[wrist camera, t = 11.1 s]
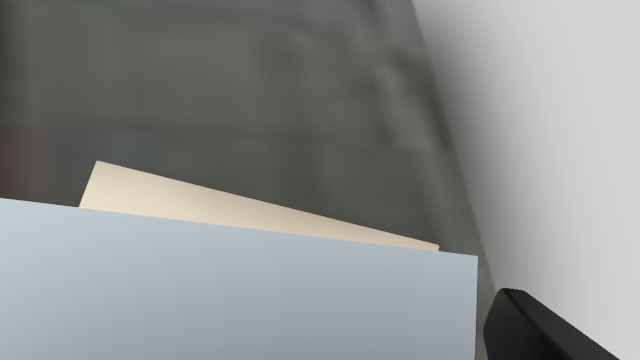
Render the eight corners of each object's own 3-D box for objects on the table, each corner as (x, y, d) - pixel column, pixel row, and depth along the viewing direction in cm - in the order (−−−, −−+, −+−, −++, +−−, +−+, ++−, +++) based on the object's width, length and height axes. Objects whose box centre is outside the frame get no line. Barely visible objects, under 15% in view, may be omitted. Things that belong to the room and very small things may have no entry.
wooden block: (361, 533, 18) (392, 581, 15) (25, 465, 18) (-34, 498, 14) (404, 262, 22) (438, 245, 18) (122, 193, 21) (96, 160, 17)
